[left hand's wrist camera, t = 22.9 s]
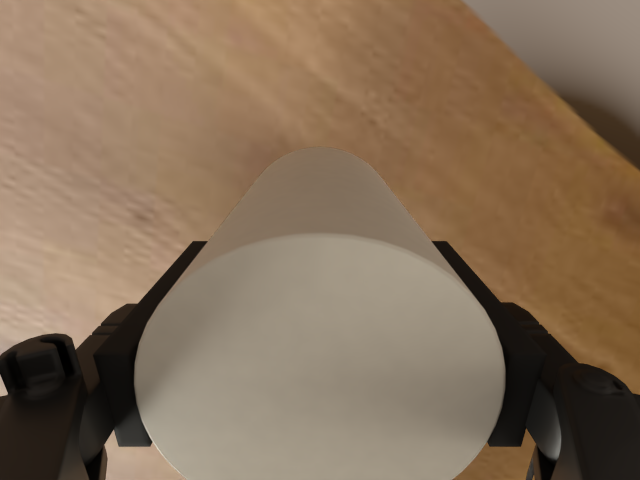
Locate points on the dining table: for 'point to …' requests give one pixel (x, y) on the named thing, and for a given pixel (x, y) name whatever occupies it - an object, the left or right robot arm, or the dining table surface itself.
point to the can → (319, 340)
